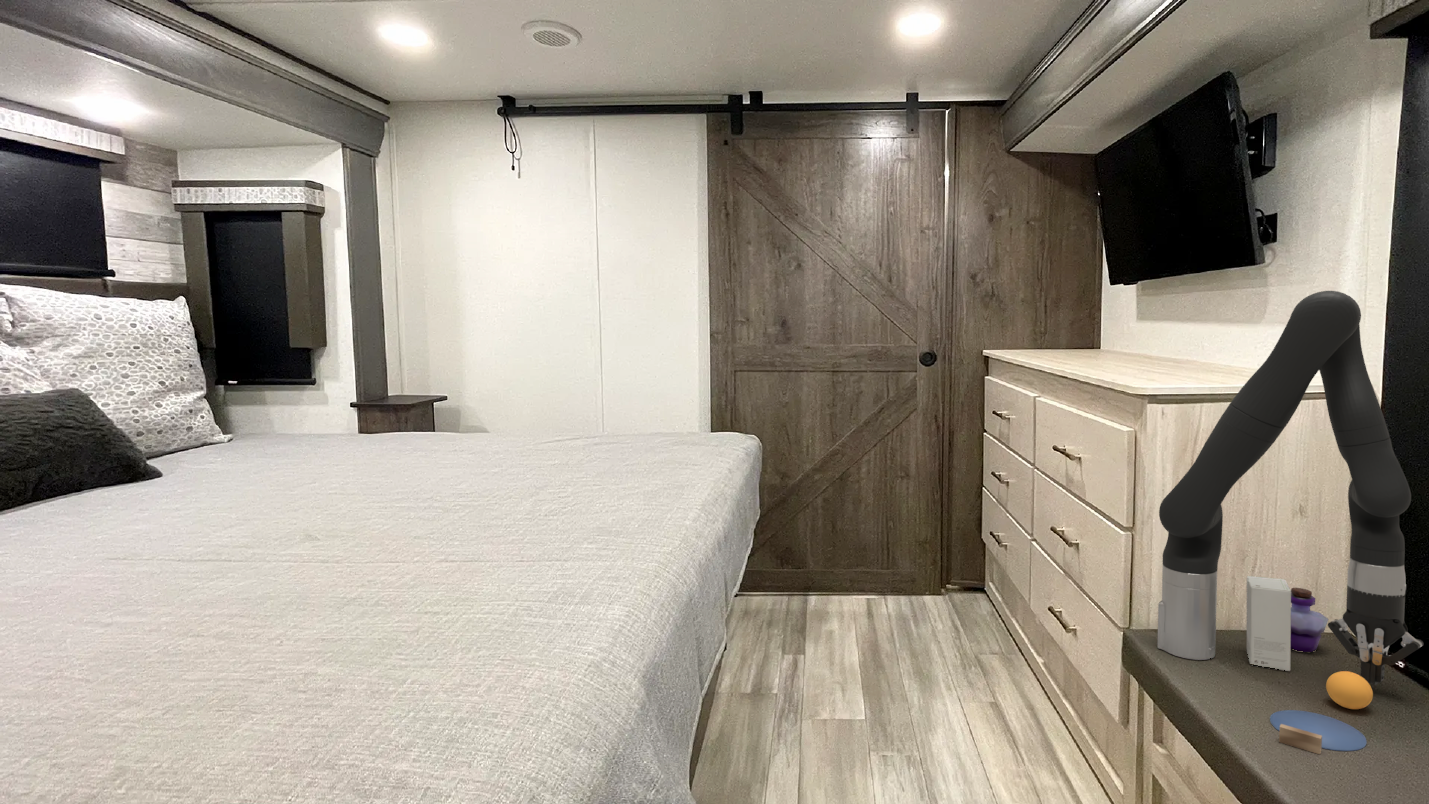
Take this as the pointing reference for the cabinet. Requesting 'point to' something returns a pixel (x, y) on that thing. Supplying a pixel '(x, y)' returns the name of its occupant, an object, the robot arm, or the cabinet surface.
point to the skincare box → (1269, 622)
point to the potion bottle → (1305, 621)
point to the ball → (1349, 690)
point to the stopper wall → (1300, 739)
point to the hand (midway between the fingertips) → (1372, 682)
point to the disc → (1322, 729)
